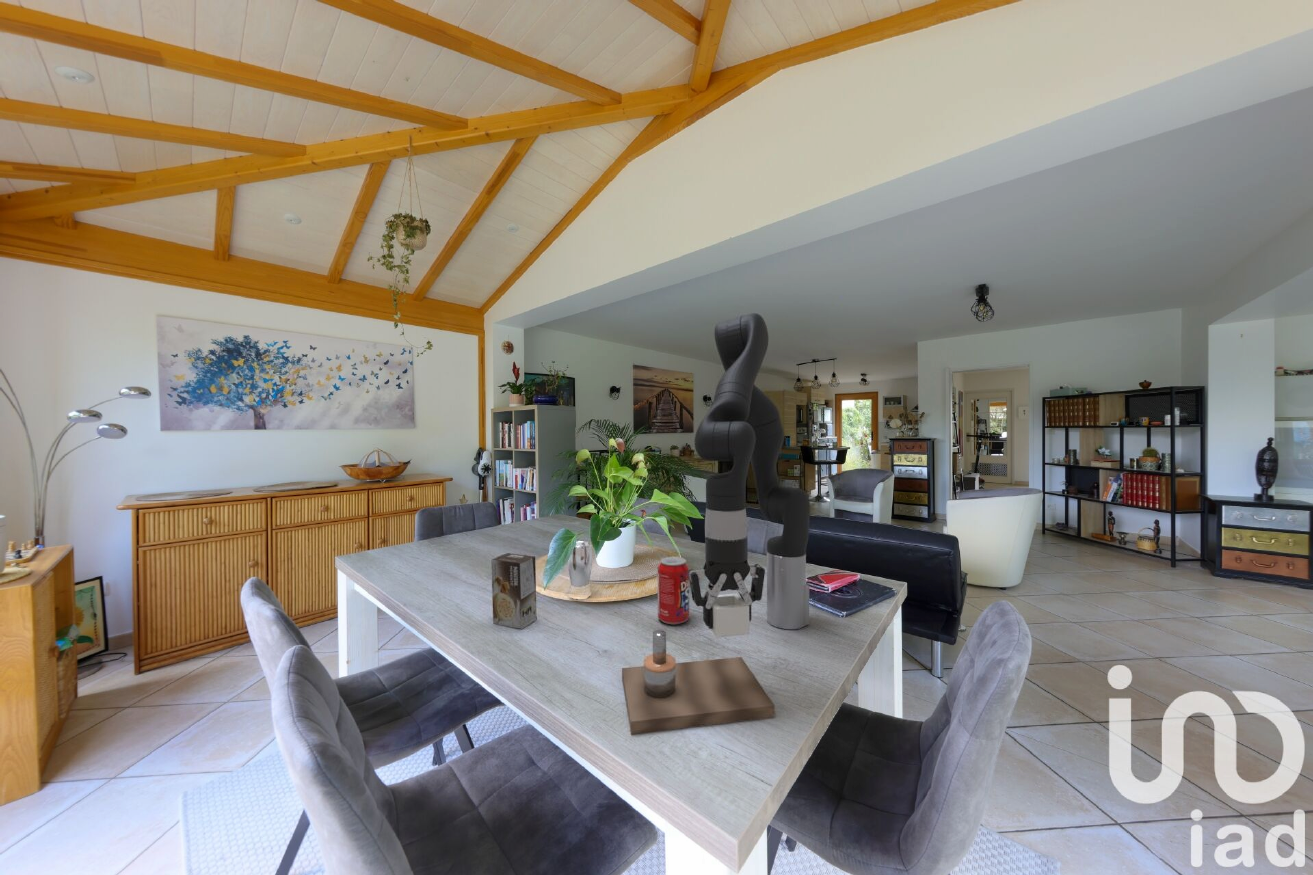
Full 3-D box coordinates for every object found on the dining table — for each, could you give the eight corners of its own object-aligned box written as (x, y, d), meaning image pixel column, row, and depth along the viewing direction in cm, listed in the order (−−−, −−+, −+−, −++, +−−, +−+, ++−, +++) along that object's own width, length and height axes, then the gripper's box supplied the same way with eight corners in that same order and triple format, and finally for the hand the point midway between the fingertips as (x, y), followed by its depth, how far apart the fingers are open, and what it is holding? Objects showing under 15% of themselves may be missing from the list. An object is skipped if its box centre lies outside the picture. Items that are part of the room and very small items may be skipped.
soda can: (652, 617, 116) (651, 558, 115) (678, 610, 119) (678, 553, 119) (668, 629, 109) (667, 567, 108) (695, 622, 113) (695, 561, 112)
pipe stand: (741, 666, 92) (741, 607, 92) (774, 717, 76) (774, 646, 76) (622, 678, 88) (621, 616, 88) (631, 733, 72) (630, 659, 72)
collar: (737, 619, 86) (737, 593, 86) (749, 634, 80) (749, 606, 80) (706, 622, 85) (706, 596, 85) (716, 637, 79) (716, 609, 79)
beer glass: (581, 602, 125) (580, 548, 125) (562, 597, 129) (561, 544, 128) (597, 594, 131) (597, 542, 131) (579, 589, 135) (578, 539, 134)
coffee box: (538, 619, 115) (537, 555, 114) (521, 629, 109) (520, 563, 108) (508, 613, 118) (507, 552, 118) (491, 623, 112) (490, 559, 112)
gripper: (756, 525, 87) (756, 613, 87) (682, 530, 84) (683, 620, 85) (772, 535, 79) (773, 630, 80) (692, 540, 77) (693, 639, 78)
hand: (727, 624), depth 83 cm, fingers closed on collar, 6 cm apart
